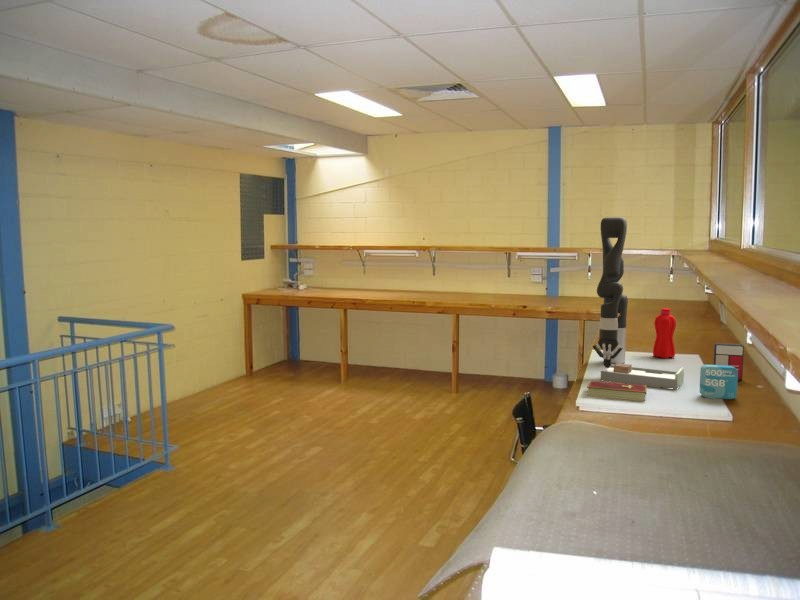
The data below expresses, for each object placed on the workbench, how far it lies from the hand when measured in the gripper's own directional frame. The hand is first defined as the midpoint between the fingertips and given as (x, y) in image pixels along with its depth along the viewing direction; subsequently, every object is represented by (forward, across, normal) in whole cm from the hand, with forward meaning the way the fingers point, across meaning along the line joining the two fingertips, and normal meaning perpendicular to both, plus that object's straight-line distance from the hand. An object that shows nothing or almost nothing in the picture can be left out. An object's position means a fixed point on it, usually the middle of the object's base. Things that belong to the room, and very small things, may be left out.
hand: (607, 367), depth 270 cm
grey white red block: (+4, -44, -25) cm, 51 cm away
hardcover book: (+5, -12, +30) cm, 33 cm away
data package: (+4, -44, +13) cm, 46 cm away
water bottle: (+4, -11, -65) cm, 66 cm away
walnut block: (+1, -6, 0) cm, 7 cm away
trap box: (+4, -14, 0) cm, 15 cm away
